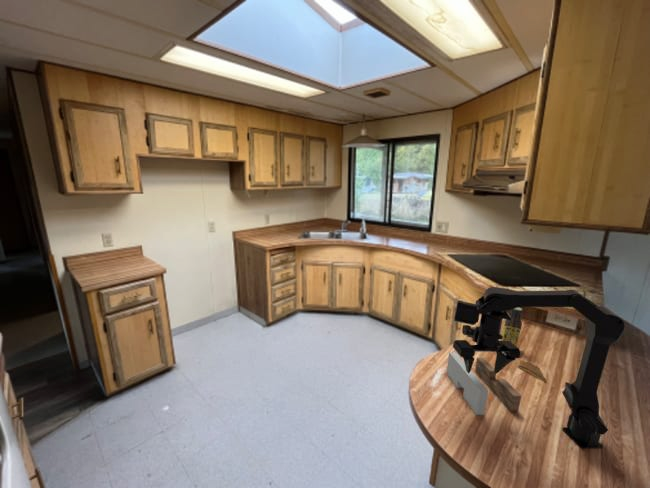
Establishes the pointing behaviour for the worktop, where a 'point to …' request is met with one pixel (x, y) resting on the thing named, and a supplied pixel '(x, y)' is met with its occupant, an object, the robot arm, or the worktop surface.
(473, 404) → the slotted top plate
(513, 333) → the sauce bottle
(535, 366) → the shard
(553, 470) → the worktop surface
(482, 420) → the worktop surface
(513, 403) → the slotted base plate
